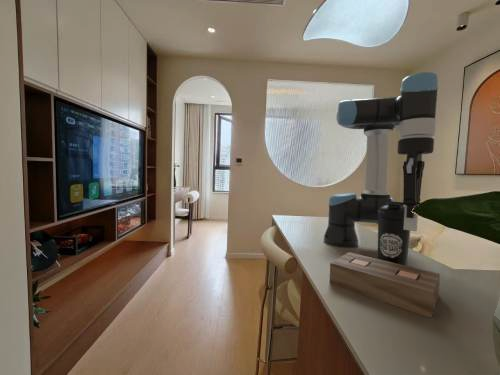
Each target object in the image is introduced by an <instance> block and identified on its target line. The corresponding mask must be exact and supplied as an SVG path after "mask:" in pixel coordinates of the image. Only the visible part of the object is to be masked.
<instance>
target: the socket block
mask: <svg viewBox="0 0 500 375" xmlns="http://www.w3.org/2000/svg"><path fill="white" fill-rule="evenodd" d="M355 259H358V260H362V261H366V262H369V265H368V266H367V267H364V266H360V265H357V264H353V263H351V262H352V261H353V260H355ZM400 270H402V271H406V272H410V273H414V274H418V281H417V280H413V279H409V278H405V277H402V276H398V275H397V274H398V273H399V272H400ZM440 275H441V273H437V272H434V271H429V270H425V269H421V268H417V267H412V266H408V265H407V266H405V265H401V264H396V263H392V262H388V261H384V260H379V259H378V258H374V257H370V256H367V255H362V254H358V253H353V252H349V251H348V252H347V253H345V254H343V255H342V256H340V257H338V258H336V259H334V260H333V261H331V262H330V263H329V284H331V285H334V286H337V287H340V288H344V289H346V290H348V291H352V292H355V293H358V294H361V295H364V296H366V297H370V298H372V299H376V300H378V301H380V302H384V303H387V304H390V305H391V306H396V307H398V308H401V309H405V310H408V311H410V312H413V313H415V314H419V315H421V316H425V317H428V318H430V319H432V317H433V315H434V311H435V308H436V305H437V302H438V298H439V293H440V292H439V290H440V279H441V278H440V277H441V276H440Z"/></svg>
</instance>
